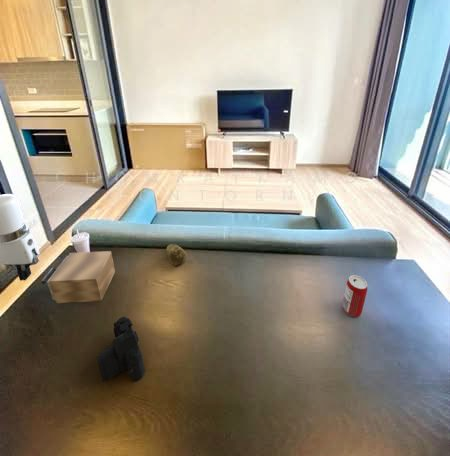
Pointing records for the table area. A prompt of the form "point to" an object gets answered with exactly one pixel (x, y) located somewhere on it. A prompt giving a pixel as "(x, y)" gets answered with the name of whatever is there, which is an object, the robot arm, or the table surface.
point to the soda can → (354, 296)
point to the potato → (176, 255)
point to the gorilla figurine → (122, 353)
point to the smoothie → (81, 241)
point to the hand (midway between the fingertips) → (25, 277)
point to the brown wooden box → (83, 277)
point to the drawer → (51, 277)
